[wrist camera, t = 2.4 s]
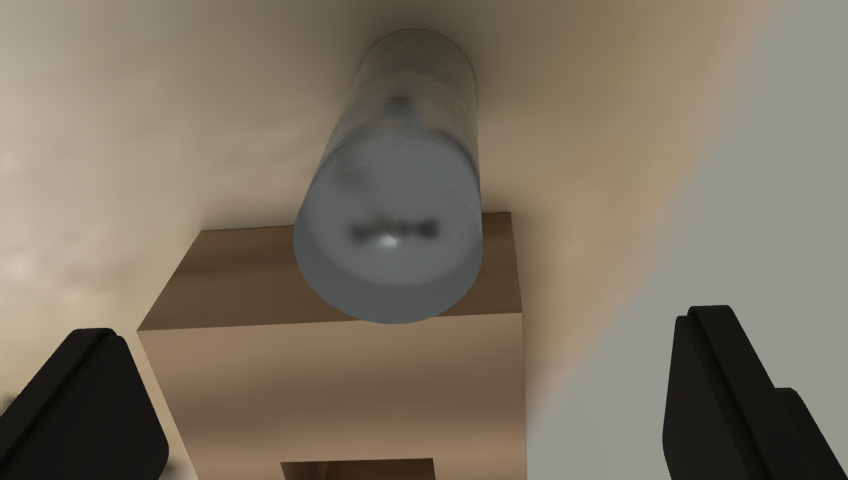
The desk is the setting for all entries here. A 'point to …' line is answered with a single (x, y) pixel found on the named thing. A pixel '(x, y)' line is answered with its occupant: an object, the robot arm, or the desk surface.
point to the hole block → (336, 370)
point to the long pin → (398, 187)
